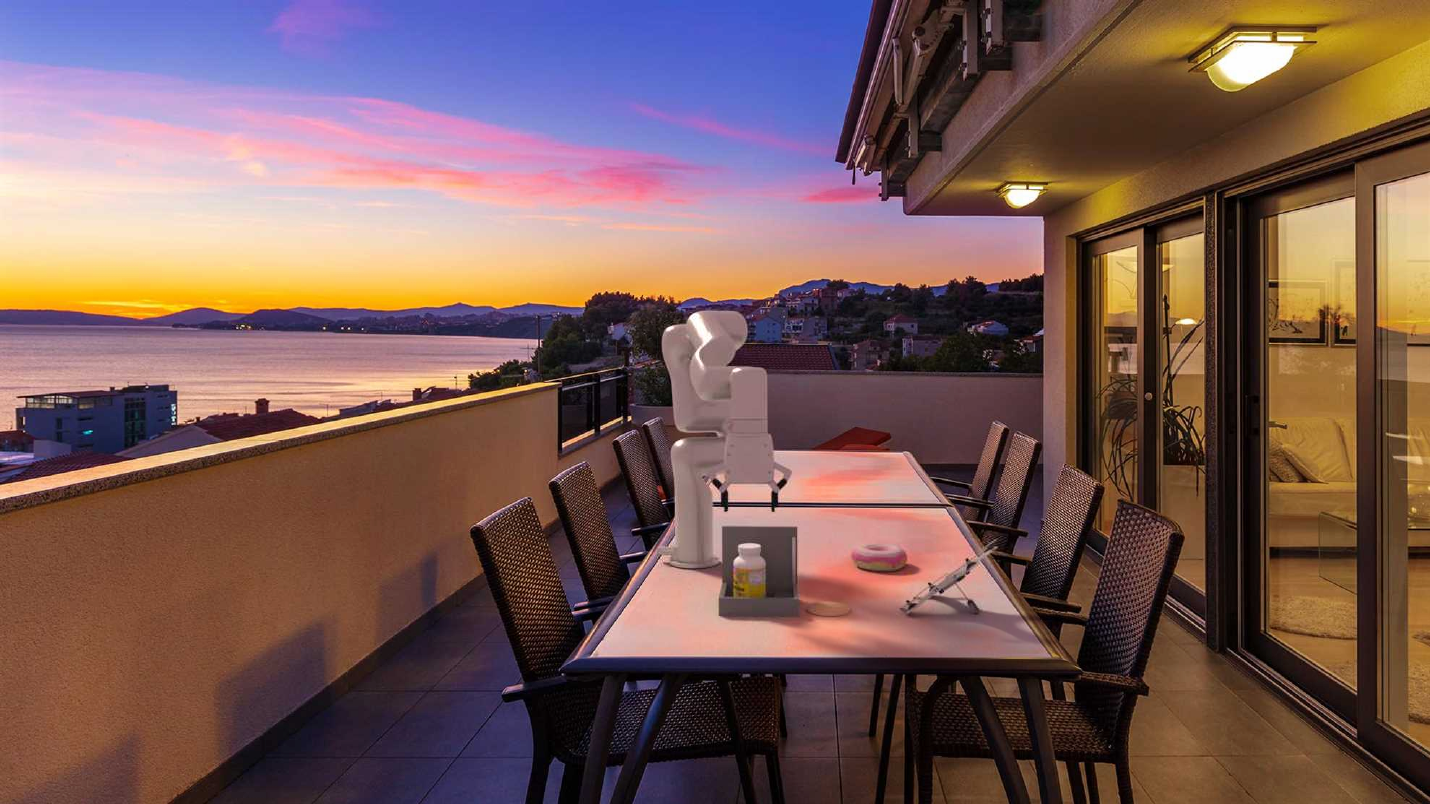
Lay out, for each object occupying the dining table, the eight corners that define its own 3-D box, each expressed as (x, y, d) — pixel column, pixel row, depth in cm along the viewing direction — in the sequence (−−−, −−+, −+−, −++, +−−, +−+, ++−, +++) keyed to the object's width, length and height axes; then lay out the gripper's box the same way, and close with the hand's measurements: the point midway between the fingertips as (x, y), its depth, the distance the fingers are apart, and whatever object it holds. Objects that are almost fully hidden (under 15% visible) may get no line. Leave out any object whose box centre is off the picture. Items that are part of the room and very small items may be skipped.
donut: (850, 572, 200) (850, 552, 200) (851, 559, 213) (851, 540, 213) (908, 574, 198) (908, 554, 197) (905, 561, 211) (905, 542, 210)
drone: (1034, 570, 171) (1002, 530, 174) (1012, 597, 152) (976, 551, 155) (949, 626, 181) (920, 587, 184) (918, 658, 161) (886, 615, 164)
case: (718, 615, 166) (718, 538, 165) (722, 597, 179) (722, 525, 178) (799, 616, 165) (799, 539, 164) (797, 598, 178) (797, 526, 177)
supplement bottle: (728, 604, 174) (728, 543, 173) (757, 601, 176) (757, 540, 175) (740, 613, 167) (740, 550, 167) (771, 609, 170) (770, 547, 169)
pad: (806, 616, 165) (806, 614, 165) (804, 603, 174) (804, 601, 174) (852, 616, 165) (852, 614, 165) (848, 603, 174) (848, 601, 174)
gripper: (705, 429, 167) (706, 514, 167) (792, 429, 165) (792, 514, 166) (708, 426, 174) (708, 507, 175) (791, 426, 173) (791, 508, 174)
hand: (749, 511), depth 170 cm, fingers open, 9 cm apart
